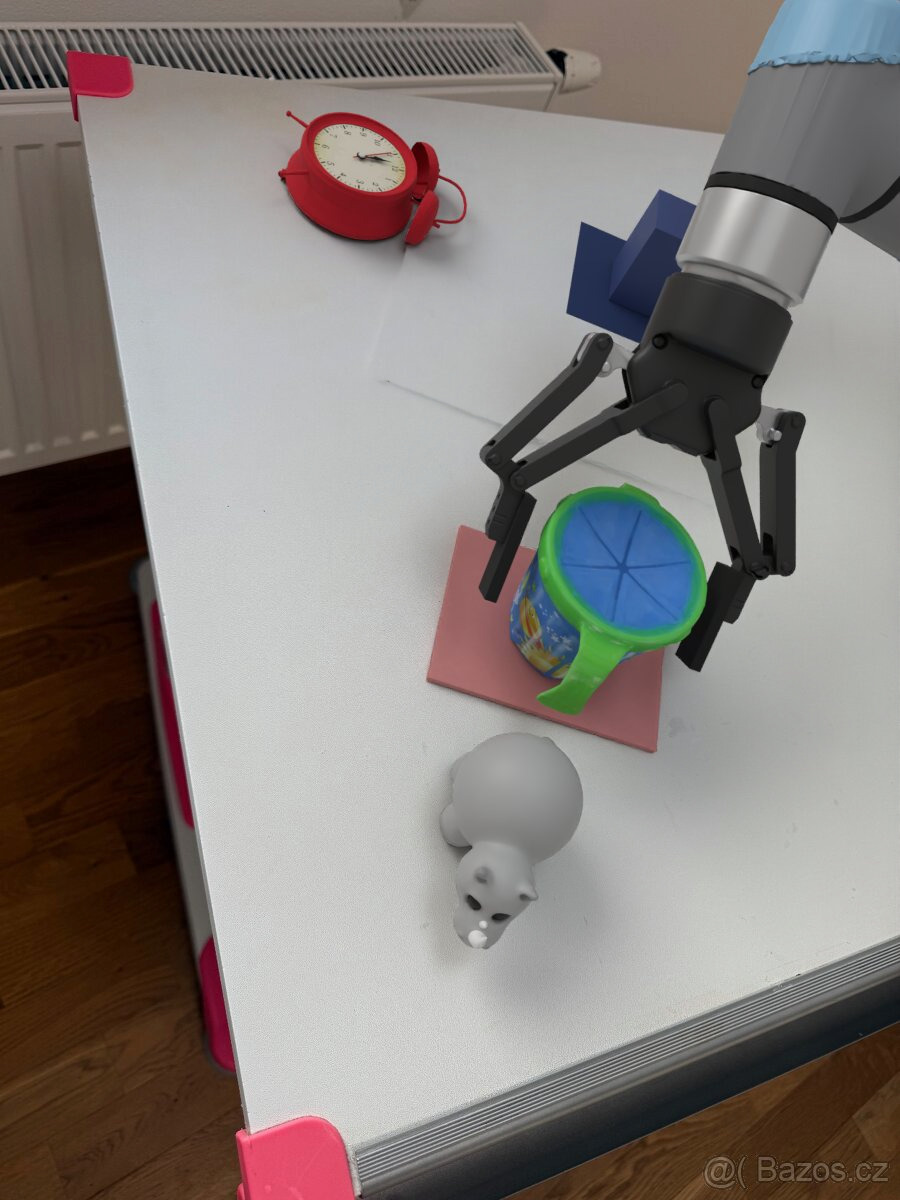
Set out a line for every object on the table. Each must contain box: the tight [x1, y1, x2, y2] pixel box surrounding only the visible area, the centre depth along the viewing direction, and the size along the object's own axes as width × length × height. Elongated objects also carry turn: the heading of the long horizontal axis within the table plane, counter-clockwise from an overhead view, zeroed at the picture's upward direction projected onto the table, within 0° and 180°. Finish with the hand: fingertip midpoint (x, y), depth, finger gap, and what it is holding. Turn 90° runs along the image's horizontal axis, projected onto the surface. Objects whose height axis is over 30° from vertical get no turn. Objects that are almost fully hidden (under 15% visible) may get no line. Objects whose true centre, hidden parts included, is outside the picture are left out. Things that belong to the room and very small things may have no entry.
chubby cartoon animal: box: [438, 731, 584, 950], centre depth 53 cm, size 7×12×8 cm, turn 161°
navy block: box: [608, 188, 697, 318], centre depth 81 cm, size 5×5×8 cm
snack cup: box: [509, 482, 708, 715], centre depth 61 cm, size 16×10×10 cm
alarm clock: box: [277, 110, 468, 246], centre depth 77 cm, size 10×6×15 cm
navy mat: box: [565, 221, 650, 345], centre depth 84 cm, size 12×12×1 cm
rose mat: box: [426, 524, 665, 754], centre depth 65 cm, size 16×12×1 cm
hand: (588, 630), depth 59 cm, fingers open, 13 cm apart
